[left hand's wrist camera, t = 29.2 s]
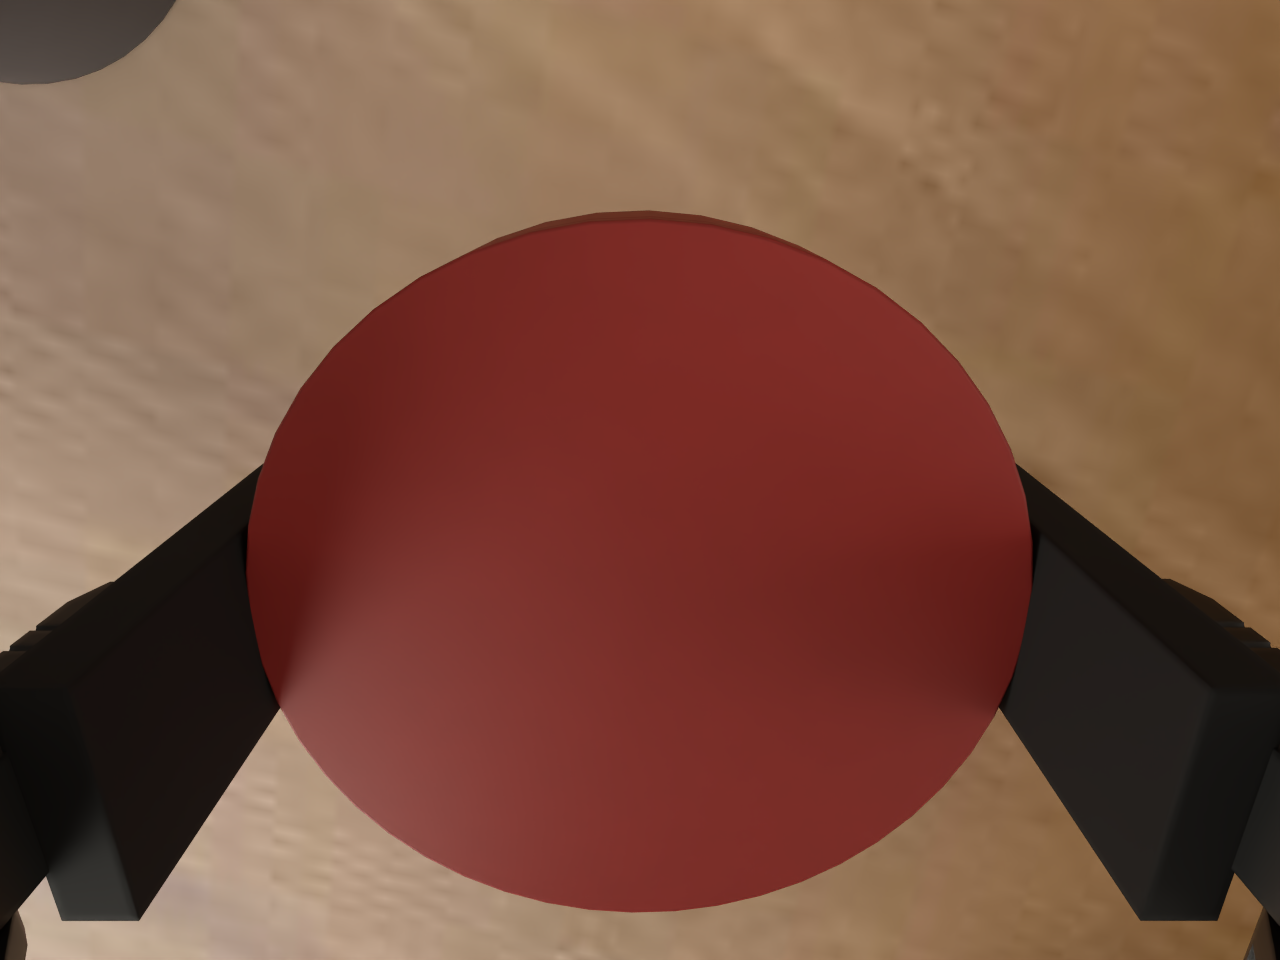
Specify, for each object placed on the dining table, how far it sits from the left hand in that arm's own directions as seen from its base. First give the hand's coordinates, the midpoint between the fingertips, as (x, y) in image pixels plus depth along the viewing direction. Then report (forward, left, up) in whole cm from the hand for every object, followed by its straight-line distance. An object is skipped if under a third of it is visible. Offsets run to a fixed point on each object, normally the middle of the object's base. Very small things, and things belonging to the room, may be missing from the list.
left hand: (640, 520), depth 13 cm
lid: (0, 0, +3) cm, 3 cm away
